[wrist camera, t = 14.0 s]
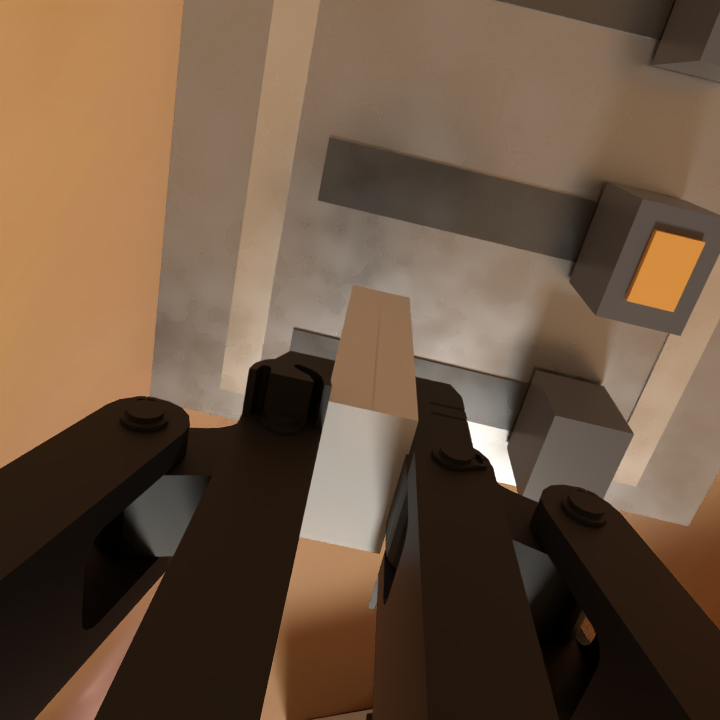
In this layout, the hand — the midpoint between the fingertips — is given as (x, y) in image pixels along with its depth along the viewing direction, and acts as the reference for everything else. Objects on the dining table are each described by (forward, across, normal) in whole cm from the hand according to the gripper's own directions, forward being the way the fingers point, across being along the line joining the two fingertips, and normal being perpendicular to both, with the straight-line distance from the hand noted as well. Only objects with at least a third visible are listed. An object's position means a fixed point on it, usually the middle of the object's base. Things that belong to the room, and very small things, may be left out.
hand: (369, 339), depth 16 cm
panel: (+12, +4, +3) cm, 13 cm away
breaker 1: (+9, +9, -5) cm, 14 cm away
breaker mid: (+9, +9, +3) cm, 13 cm away
